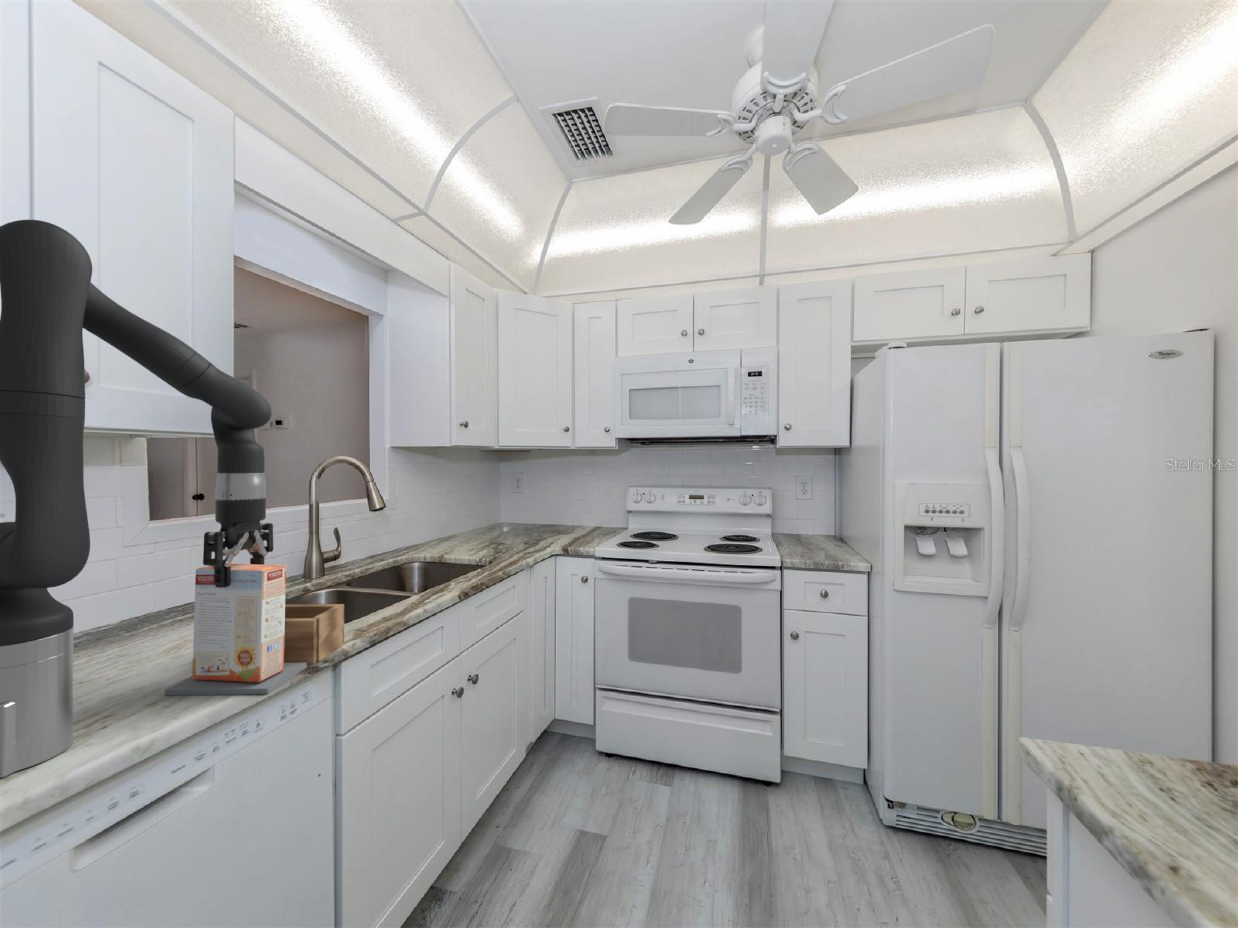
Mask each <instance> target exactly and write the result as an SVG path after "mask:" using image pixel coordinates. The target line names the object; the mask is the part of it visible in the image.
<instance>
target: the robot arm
mask: <svg viewBox="0 0 1238 928" xmlns="http://www.w3.org/2000/svg"><path fill="white" fill-rule="evenodd" d="M92 276H93V264H92V260H91V257H90V254H89V253H88V250H87V249H86V248H85V246H84V245H83V244H82V243H81V241H80V240H78V239H77V238H76V237H75V235H73V234H71V233H70V232H69V231H68V230H66V229H64V228H62V227H60V226H58V225H57V224H53V223H51V222H47V221H44V220H39V219H17V220H13V221H9V222H7V223H5V224H2V225H0V299H1V301H0V305H1V306H0V307H1V309H0V463H1V465H2V466H3V468H4V470H5V471H6V473H7V474H8V476H9V478H10V480H11V483H12V485H13V490H14V497H15V514H14V515H15V516H14V518H15V519H14V521H3V522H0V778H5V777H7V776H9V775H11V774H13V773H16V772H18V771H21V770H24V769H26V768H27V769H28V768H30V767H32V766H33V767H34V766H35V765H37V764H40V763H43V762H46V761H48V760H49V759H52V758H54V757H56V756H58V755H59V754H61V753H63V752H65V751H66V750H67V749H69V747H71V745H72V744H73V737H74V736H73V735H74V733H73V732H74V635H75V634H74V632H75V631H74V618H75V617H74V612H73V609H72V608H71V607H69V606H68V605H66V604H63V602H60V601H58V600H57V599H56V598H54V597H53V596H52V595H51V593H50V591H48V589H49V588H51V589H52V588H55V587H60V586H62V585H65V584H68V583H69V582H71V581H72V580H74V579H75V578H76V577H78V576H79V574H80V573H81V572H83V570H84V568H85V567H86V565H87V563H88V559H89V557H90V552H91V535H90V527H89V517H88V511H87V503H86V502H87V501H86V494H85V484H84V483H85V482H84V481H85V480H84V471H85V470H84V469H85V468H84V432H85V423H86V422H85V421H86V420H85V419H86V386H85V385H86V384H85V383H86V381H85V379H86V378H85V377H86V375H85V374H86V373H85V351H84V339H83V335H84V334H83V330H86V331H87V332H89V333H91V334H92V335H94V336H96V337H97V338H99V339H101V340H102V341H103V342H105V343H107V344H109V345H110V346H112V347H113V348H115V349H117V350H118V351H119V352H121V353H122V354H124V355H125V356H127V357H129V358H130V359H131V360H133V361H134V362H136V363H138V364H139V365H140V366H141V367H143V368H145V369H146V370H147V371H149V372H150V373H151V374H153V375H155V376H156V377H157V378H158V379H161V380H162V381H163V382H165V383H166V384H168V386H171V387H172V388H173V389H174V390H176V391H177V392H179V393H181V394H182V395H184V396H186V397H188V398H191V399H195V400H199V401H201V402H204V403H206V404H207V405H208V406H210V407H211V410H210V422H211V428H212V432H213V437H214V441H215V444H216V447H217V466H216V467H217V476H216V482H215V493H214V494H215V498H214V499H215V500H214V501H215V503H214V504H215V505H214V506H215V507H214V509H215V510H214V511H215V515H214V516H215V517H214V519H215V522H217V523H219V524H220V529H219V531H206V532H205V533H204V537H203V556H202V557H203V559H202V565H204V566H207V567H208V566H212V567H214V583H215V586H216V587H217V588H225V587H228V586H230V585H231V566H230V564H232V562H233V560H234V558H236V556H238V555H239V554H240V552H241V551H244V550H245V551H247V552H248V555H250V556H251V557H250V558H249V564H259V565H265V557H267V555H268V553H271V552H273V551H274V524H273V523H271V522H262V523H261V521H264V520H266V517H267V516H266V515H267V514H266V513H267V510H266V509H267V504H266V503H267V483H266V477H265V476H266V475H265V451H264V447H263V445H261V444H259V443H258V442H257V440H256V433H255V429H259V428H262V427H263V426H265V425H266V424H268V423H269V421H270V420H271V418H272V408H271V405H270V403H269V402H268V400H267V399H266V398H265V397H264V396H263V395H262V394H261V393H259V392H258V391H257V390H256V389H254V388H252V387H250V386H249V385H247V384H245V383H244V382H242V381H240V380H239V379H236V378H235V377H234V376H232V375H230V374H228V373H226V372H224V371H222V370H220V369H219V368H218V367H216V366H215V365H214V364H213V363H212V362H210V361H209V360H208V359H206V357H204V356H203V355H202V354H200V353H199V352H198V351H197V350H195V349H194V348H192V347H191V346H190V345H189V344H187V343H185V342H184V341H182V340H181V339H180V338H178V337H176V336H174V334H171V333H170V332H168V331H166V330H164V329H162V328H160V327H159V326H158V325H157V326H156V325H155V324H153V323H151V322H149V321H147V320H146V319H144V318H141V317H140V316H138V315H136V314H135V313H133V312H131V311H130V310H128V309H126V308H125V307H123V306H121V305H120V304H119V303H117V302H116V301H115V300H113V299H112V298H110V297H109V296H108V295H106V294H105V293H103V292H102V291H101V290H100V289H99V288H98V287H97V286H95V285H94V284H93V283H92V282H91V281H92ZM264 541H265V542H266V543H265V542H264ZM265 544H266V545H265ZM212 553H214V558H212ZM224 557H225V558H224Z"/></svg>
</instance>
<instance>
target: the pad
mask: <svg viewBox="0 0 1238 928" xmlns="http://www.w3.org/2000/svg"><path fill="white" fill-rule="evenodd" d="M307 665H308V664H307V663H284V670H283V671H281V672H279V673H277V674H275V675H273V676H271V677H269V678H267V679H265V680H263V681H261V682H259V683H257V682H238V681H218V680H197V679H192V675H190V676H189V677H187V678H185V679H183V680H181V681H180V682H177V683H175V684H173V685H171V686H170V687H168V688H165V689H164V696H213V695H214V696H216V695H219V696H221V695H222V696H225V695H226V696H228V695H235V696H236V695H269V694H271V693H272V692H273V691H274V690H276V689H278V688H279V687H280V686H283V684H285V683H286V682H288V681H289V680H291V679H292V678H293V677H295V676H296V675H297V674H300V673H301V672H302V671H304V670H306V668H307Z"/></svg>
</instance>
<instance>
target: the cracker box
mask: <svg viewBox="0 0 1238 928" xmlns="http://www.w3.org/2000/svg"><path fill="white" fill-rule="evenodd" d="M230 566H231V585H230V586H228V587H225V588H217V587H216V586H215V583H214V567H212V566H208V565H207V566H204V567H203V566H202V567H198V568H196V569H195V582H194V583H195V584H194V585H195V587H194V588H195V589H194V612H193V613H194V614H193V615H194V616H193V617H194V618H193V619H194V621H193V650H192V675H191V676H192V679H197V680H218V681H238V682H257V683H259V682H261V681H263V680H265V679H267V678H269V677H271V676H273V675H275V674H277V673H279V672H281V671H283V670H284V632H285V604H286V592H287V591H286V589H287V588H286V585H287V584H286V579H287V578H286V577H287V565H286V564H264V565H259V564H250V563H248V564H247V563H231V564H230Z"/></svg>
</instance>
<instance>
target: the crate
mask: <svg viewBox="0 0 1238 928" xmlns="http://www.w3.org/2000/svg"><path fill="white" fill-rule="evenodd" d="M344 643H345V604H344V603H324V604H323V603H321V604H320V603H314V604H313V603H311V604H310V603H309V604H306V603H305V604H300V603H299V604H297V603H296V604H295V603H293V604H292V603H291V604H289V603H288V604H286V603H285V632H284V663H307V665H309V664H310V665H311V664H312V665H313V664H315V663H316V662H321V660H323V659H324V658H326V657H327V656H329V655H330V654H332V653H333V652H335V651H336V650H338V649H339V648H340V647H342V646H343V645H344Z"/></svg>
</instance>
